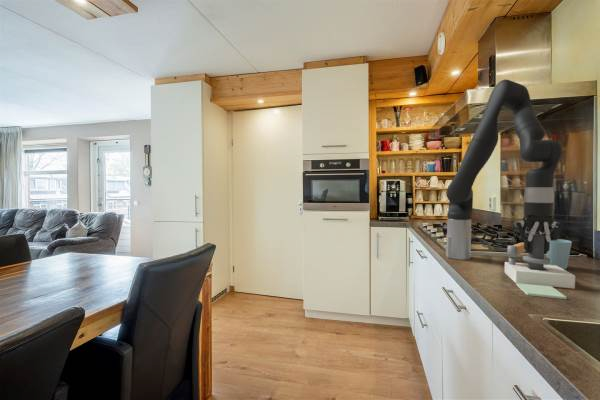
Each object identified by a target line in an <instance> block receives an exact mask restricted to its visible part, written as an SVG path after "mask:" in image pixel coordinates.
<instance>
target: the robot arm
mask: <svg viewBox="0 0 600 400" xmlns="http://www.w3.org/2000/svg"><path fill="white" fill-rule="evenodd" d="M502 108H504V109H509V110H510V111H512V113H513V114H514V115H515V116H514V119H513V129H514V131H515V133H516V135H517V138H518V140H519V141H518V142H519V155H520V158H521V159H522V160H523V161H525V162H527V163H541V165H540V166H539V167H537V168H535V169H533V168H532V169H529V170H528V171H526V174H525V188H524V189H525V190H524V195H523V218H522V219H521V220H519V221H513V222H512V223H513V228H514V230H515V232H516V236H517V237H518V239H521V240H523V242H524V249H525V250H526V251H525V252H527V253H529V252H532V242H531V241H532V238H533V235H535V234H536V233H537V232H539V234H540V235H544V236H545V245H544V254H547V252H548V251H549V245H550V241H552V240H557V239H559V238H558V237H559V236H560V233H561V232H562V229H563V227H564V223H562V222H558V221H554V218H553V216H554V204H555V203H554V202H555V201H554V199H555V197H554V195H555V193H554V176H555V172H556V169H557V167H558V165H559V162H560V159H561V157H562V153H563V148H562V144H561V143H560V142H559V141H558V140H554V139H544V137H545V135H546V133H545V132H546V131H545V130H544V129H545V128H544V127H543V125H542V124H541V122H540V120H539V119H538V117H537V115H536V113H535V111H534V108H533V104H532V101H531V96H530V93H529V90H528V88H527V87H526V86H525V85H523V84H520V83H518V82H515V81H513V80H509V79H506V78H505V79H501V80H499V82H497V83H496V84H495V86H494V87H493V89H492V90H491V93H490V95H489V97H488V100H487V103H486V106H485V108H484V110H483V114H482V116H481V119H480V121H479V123H478V125H477V127H476V129H475V132H474V134H473V135H472V138H471V140H470V142H469V144H468V146H467V148H466V151H465V153H464V155H463V158H462V160H461V163H460V165H459V168H458V170H457V172H456V174H455V176H454V177H453V179H452V180H451V182H450V184H449V185H448V187H447V189H446V198H447V199H448V203H449V204H448V211H447V214H446V215H447V216H446V217H447V218H446V219H447V221H446V222H447V224H446V225H447V226H446V227H447V229H446V230H447V231H446V236H445V239H446V243H445V245H446V247H445V255H446V257H447V258H448V259H454V260H464V261H465V260H466V261H467V260H471V257H472V256H471V255H472V252H471V251H472V214H473V205H474V204H473V201H474V191H473V186H474V183H475V181H476V178H477V176H478V175H479V173H480V172H481V170H482V169H483V168H484V167H485V166H486V164H487V163H488V162H489V160H490V158H491V156H492V155H493V153H494V151H495V149H496V147H497V145H498V141H499V127H498V121H499V115H500V112H501V110H502ZM543 139H544V140H543ZM524 226H525V230H524V228H523V227H524ZM550 227H551V229H549V228H550Z"/></svg>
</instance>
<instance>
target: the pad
mask: <svg viewBox="0 0 600 400" xmlns="http://www.w3.org/2000/svg"><path fill="white" fill-rule="evenodd" d="M515 284H516V286H517V287H518V288H519V289H520V290H521V291H522V292H523V293H525V294H526V295H527V296H530V297H531V296H533V297H539V298H540V297H541V298H549V299H550V298H553V299H561V300H568V299H567V297H568V296H566V295H565V294H563V293H562V292H560V291H559V290H557V289H556V288H555V287H552V286H541V285H530V284H519V283H515Z"/></svg>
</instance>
